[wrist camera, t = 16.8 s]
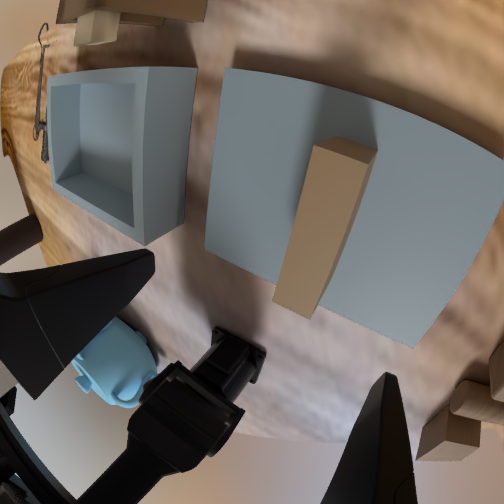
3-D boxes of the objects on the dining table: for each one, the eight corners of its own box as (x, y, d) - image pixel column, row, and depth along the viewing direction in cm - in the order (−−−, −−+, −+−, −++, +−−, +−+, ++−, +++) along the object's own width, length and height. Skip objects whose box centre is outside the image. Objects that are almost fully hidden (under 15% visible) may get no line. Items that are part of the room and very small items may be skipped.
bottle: (45, 245, 54) (-21, 287, 39) (33, 229, 55) (-30, 267, 40) (41, 224, 49) (-31, 267, 34) (30, 208, 50) (-38, 246, 35)
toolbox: (183, 223, 26) (101, 273, 19) (84, 176, 32) (22, 203, 25) (211, -11, 14) (107, -39, 7) (90, 18, 20) (17, 23, 13)
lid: (414, 329, 20) (404, 396, 15) (218, 238, 26) (167, 276, 21) (504, 161, 11) (548, 190, 6) (242, 69, 17) (176, 63, 12)
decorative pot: (141, 371, 54) (98, 412, 43) (95, 309, 51) (45, 347, 40) (182, 376, 43) (129, 432, 33) (123, 296, 40) (56, 348, 30)
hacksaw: (51, 164, 37) (44, 167, 36) (32, 146, 39) (25, 148, 38) (65, 20, 22) (56, 20, 21) (43, 23, 25) (36, 23, 23)
